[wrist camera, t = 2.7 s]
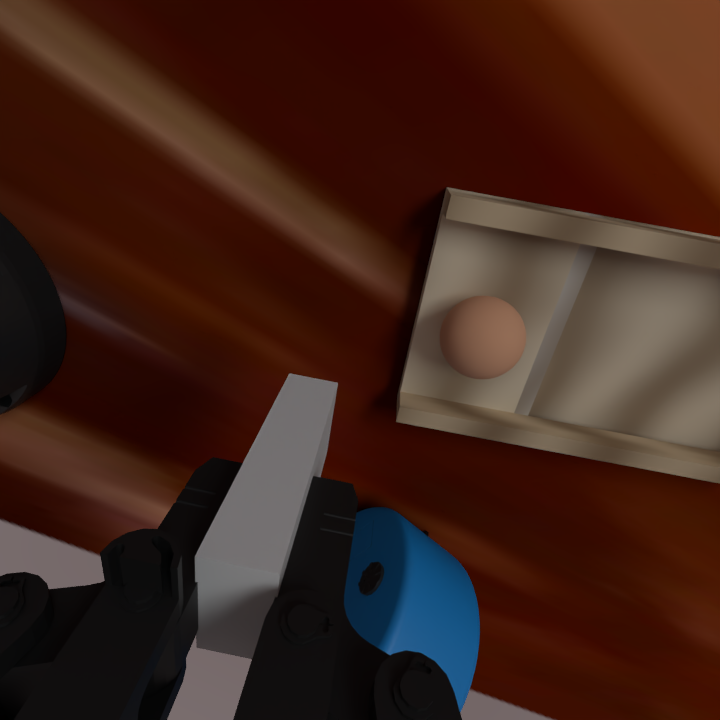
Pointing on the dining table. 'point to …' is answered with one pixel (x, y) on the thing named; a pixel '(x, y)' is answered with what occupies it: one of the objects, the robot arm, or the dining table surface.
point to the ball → (482, 337)
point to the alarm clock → (412, 596)
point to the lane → (576, 335)
